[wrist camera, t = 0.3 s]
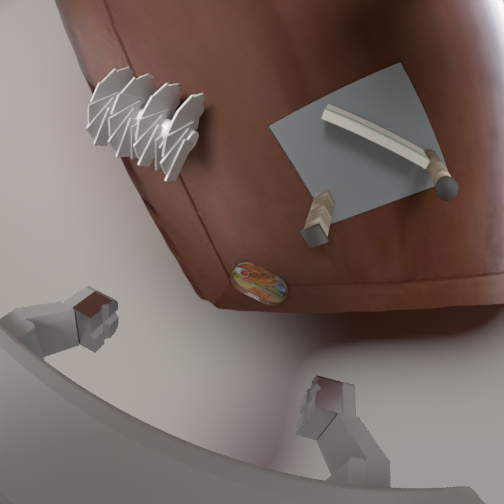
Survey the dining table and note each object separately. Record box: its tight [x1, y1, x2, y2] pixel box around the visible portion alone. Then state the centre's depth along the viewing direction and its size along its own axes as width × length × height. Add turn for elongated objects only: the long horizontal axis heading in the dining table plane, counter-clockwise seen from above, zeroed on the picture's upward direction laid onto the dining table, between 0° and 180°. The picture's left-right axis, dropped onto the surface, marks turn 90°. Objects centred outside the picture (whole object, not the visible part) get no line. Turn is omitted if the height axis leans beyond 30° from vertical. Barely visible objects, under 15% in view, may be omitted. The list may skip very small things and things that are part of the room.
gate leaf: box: [321, 104, 430, 169], centre depth 44 cm, size 19×2×6 cm, turn 75°
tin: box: [230, 261, 288, 306], centre depth 75 cm, size 15×3×8 cm, turn 69°
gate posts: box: [300, 149, 458, 248], centre depth 47 cm, size 26×4×15 cm, turn 125°
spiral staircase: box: [86, 67, 205, 181], centre depth 51 cm, size 18×18×25 cm
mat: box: [269, 62, 448, 224], centre depth 50 cm, size 28×24×1 cm
